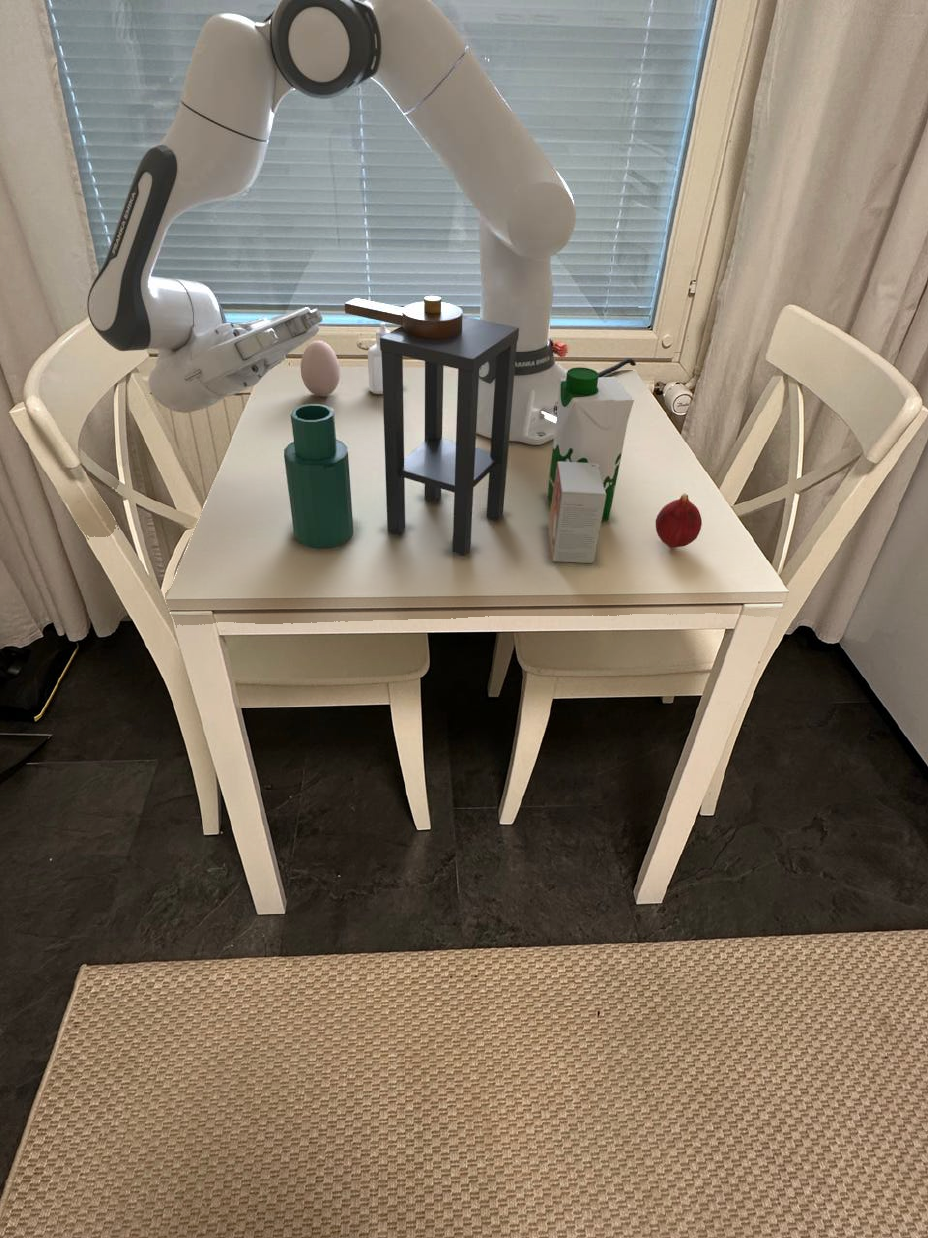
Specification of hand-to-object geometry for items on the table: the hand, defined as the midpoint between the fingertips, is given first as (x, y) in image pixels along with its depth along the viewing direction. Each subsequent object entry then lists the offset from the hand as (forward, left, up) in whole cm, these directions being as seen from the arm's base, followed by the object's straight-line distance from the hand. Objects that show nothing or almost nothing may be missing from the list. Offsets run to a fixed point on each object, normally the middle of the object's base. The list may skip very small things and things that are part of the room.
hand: (295, 325), depth 98 cm
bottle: (+4, +14, -23) cm, 27 cm away
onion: (-35, +40, -23) cm, 58 cm away
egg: (-14, -27, -23) cm, 38 cm away
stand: (-11, +20, -23) cm, 32 cm away
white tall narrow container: (-25, -24, -23) cm, 42 cm away
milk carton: (-30, +26, -23) cm, 46 cm away
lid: (-8, +14, +3) cm, 17 cm away
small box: (-23, +33, -23) cm, 46 cm away
